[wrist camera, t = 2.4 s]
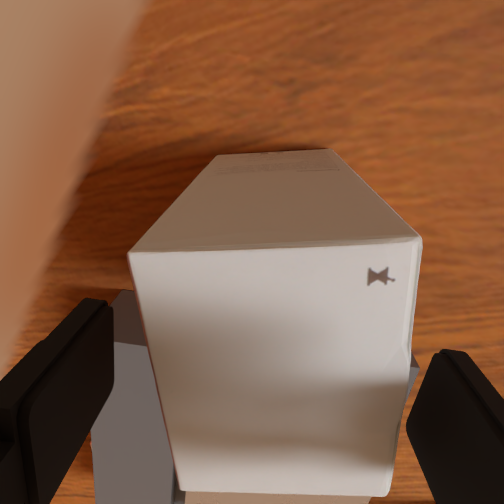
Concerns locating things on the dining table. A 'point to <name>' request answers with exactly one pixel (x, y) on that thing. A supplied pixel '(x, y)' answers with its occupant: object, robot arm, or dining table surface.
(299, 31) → the dining table surface
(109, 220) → the dining table surface
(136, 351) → the scale
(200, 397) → the small box
